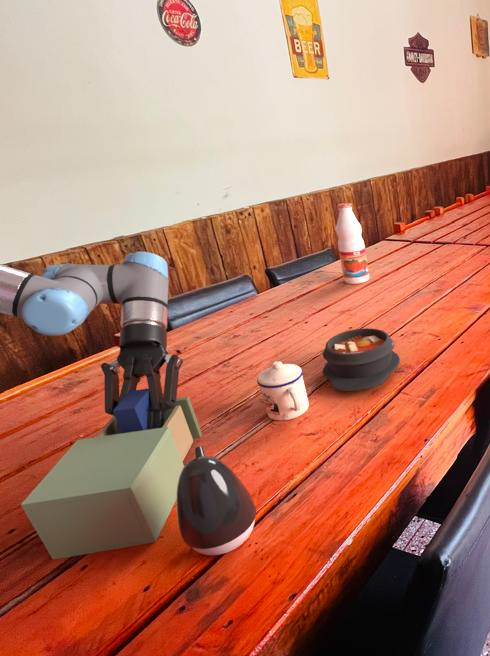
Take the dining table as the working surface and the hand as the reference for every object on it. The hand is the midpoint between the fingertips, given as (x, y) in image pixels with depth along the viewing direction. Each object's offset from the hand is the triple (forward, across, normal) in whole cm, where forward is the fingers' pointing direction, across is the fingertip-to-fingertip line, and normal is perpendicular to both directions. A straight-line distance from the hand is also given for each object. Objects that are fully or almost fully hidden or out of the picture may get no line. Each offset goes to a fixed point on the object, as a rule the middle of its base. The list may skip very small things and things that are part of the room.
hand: (139, 450), depth 91 cm
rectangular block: (-1, 0, -5) cm, 5 cm away
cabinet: (+11, 0, +3) cm, 12 cm away
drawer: (0, 0, -7) cm, 7 cm away
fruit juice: (-70, -35, -78) cm, 111 cm away
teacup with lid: (-7, -23, -14) cm, 28 cm away
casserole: (-17, -38, -25) cm, 49 cm away
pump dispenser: (+18, -18, +10) cm, 28 cm away
